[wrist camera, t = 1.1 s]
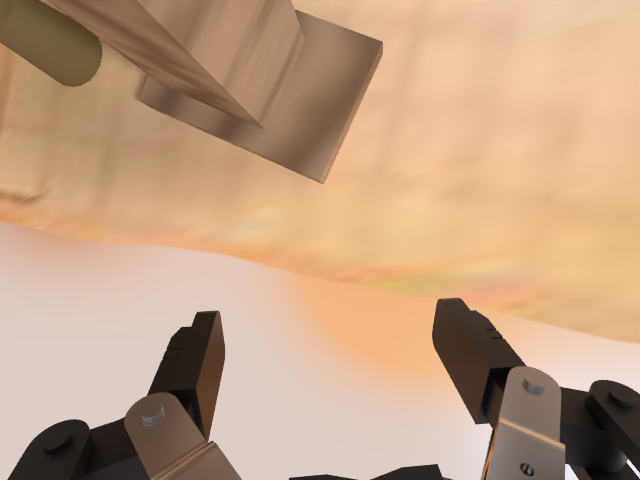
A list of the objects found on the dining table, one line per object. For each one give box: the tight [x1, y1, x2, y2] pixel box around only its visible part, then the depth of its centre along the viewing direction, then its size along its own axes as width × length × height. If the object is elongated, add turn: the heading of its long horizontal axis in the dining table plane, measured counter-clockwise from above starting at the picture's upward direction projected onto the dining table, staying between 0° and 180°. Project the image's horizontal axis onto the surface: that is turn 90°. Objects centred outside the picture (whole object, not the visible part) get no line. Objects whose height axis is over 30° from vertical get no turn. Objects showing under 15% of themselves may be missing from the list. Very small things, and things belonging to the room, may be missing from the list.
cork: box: [0, 0, 102, 87], centre depth 30 cm, size 6×6×11 cm
